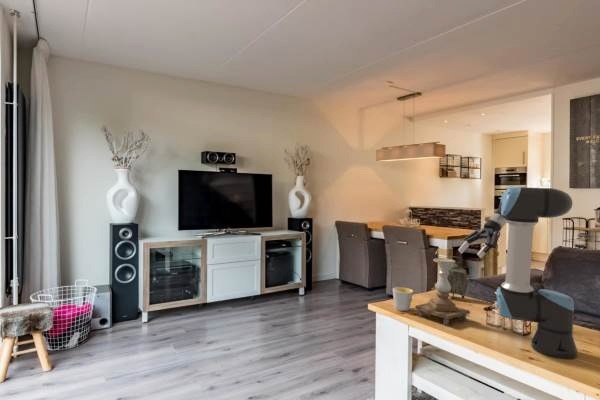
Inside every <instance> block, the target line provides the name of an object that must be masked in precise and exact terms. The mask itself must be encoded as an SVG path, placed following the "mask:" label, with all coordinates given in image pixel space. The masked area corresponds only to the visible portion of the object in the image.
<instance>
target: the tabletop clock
mask: <svg viewBox="0 0 600 400" xmlns="http://www.w3.org/2000/svg"><path fill="white" fill-rule="evenodd" d="M452 258H456V259H457V258H458V259H459V260H460V261H458V262H456V260H455V263H454V264H450V266H449V267H448V272H449V274H448V277H447V279H448V281H449V283H450V285H451V290H450V291H448V293H449V294H452V296H451V299H452V300H455V298H456V297H455V295H461V298H462V299H465V295H463V294H465V293H466V292H467V289H468V273H467V269H464V268H463V267H460V266H459V264H460V263H461V262H462V259H461V257H459V256H455V255H452V256H449V257H448V259H452Z"/></svg>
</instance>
